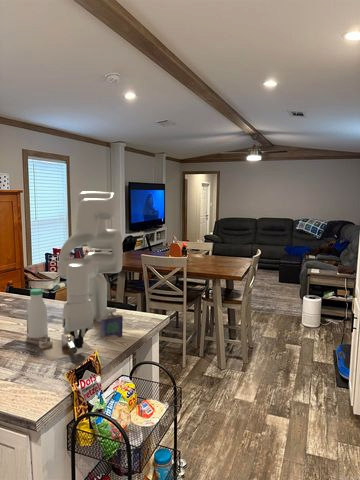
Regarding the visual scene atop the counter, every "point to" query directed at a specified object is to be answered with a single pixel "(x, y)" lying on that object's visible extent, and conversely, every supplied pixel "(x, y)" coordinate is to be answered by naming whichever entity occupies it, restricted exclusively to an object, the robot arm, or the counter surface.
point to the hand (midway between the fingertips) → (78, 346)
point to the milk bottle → (36, 315)
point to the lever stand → (59, 349)
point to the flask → (112, 325)
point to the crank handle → (68, 343)
